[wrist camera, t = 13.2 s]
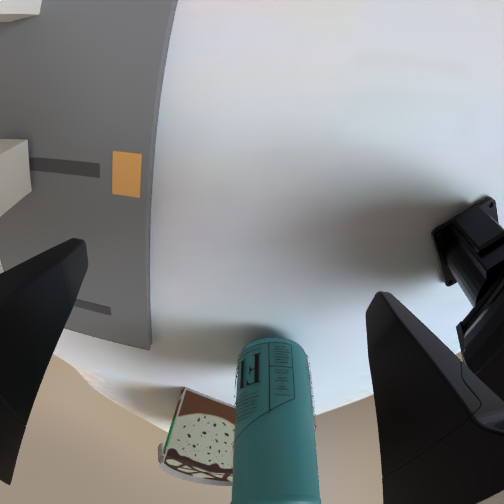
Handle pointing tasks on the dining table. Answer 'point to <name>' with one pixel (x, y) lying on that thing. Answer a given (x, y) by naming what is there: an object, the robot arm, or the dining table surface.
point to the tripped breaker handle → (13, 172)
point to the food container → (200, 440)
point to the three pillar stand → (87, 146)
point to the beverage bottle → (274, 426)
